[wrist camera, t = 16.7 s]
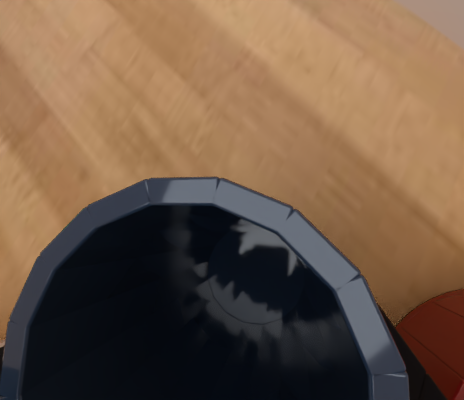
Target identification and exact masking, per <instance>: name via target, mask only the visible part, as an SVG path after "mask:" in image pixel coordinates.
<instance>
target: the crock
mask: <svg viewBox="0 0 464 400" xmlns="http://www.w3.org/2000/svg"><path fill="white" fill-rule="evenodd" d="M9 319H10V321H9V322H8V324H7V332H6V339H5V346H4V354H3V361H2V368H1V376H0V400H410V397H409V379H408V374H407V372H406V365H405V363H404V361H403V359H402V356H401V354H400V352H399V350H398V348H397V346H396V343H395V341H394V339H393V337H392V335H391V333H390V331H389V328H388V326H387V324H386V322H385V320H384V318H383V315H382V313H381V311H380V309H379V307H378V305H377V302H376V300H375V298H374V296H373V294H372V292H371V289H370V287H369V285H368V283H367V281H366V279H365V277H364V276H363V275H362V274H361V272H360V270H359V269H358V268H357V267H356V266H355V265H354V264H353V263H352V262H351V261H350V260H349V259H348V258H347V257H346V256H345V255H344V254H343V253H342V252H341V251H340V250H339V249H338V248H337V247H336V246H335V245H334V244H332V243H331V242H330V241H329V240H328V239H327V238H326V237H325V236H324V235H323V234H322V233H321V232H320V231H319V230H318V229H317V228H316V227H315V226H314V225H313V224H312V223H311V222H310V221H309V220H308V219H307V218H306V217H305V216H304V215H303V214H302V213H301V212H300V211H298V210H297V209H294V210H293V207H292V206H291V205H289V204H286V203H284V202H281V201H279V200H276V199H274V198H271V197H269V196H266V195H264V194H262V193H259V192H257V191H254V190H252V189H249V188H247V187H244V186H242V185H239V184H237V183H235V182H232V181H230V180H227V179H225V178H218V177H169V178H150V179H145V180H143V181H140V182H138V183H136V184H134V185H131V186H129V187H127V188H125V189H123V190H120V191H118V192H116V193H114V194H111V195H109V196H107V197H105V198H103V199H100V200H98V201H96V202H94V203H92V204H89V205H88V206H87V207H85V208H83V209H82V211H81V212H80V213H79V214H78V215H77V216H76V217H75V218H74V219H73V220H72V221H71V222H70V223H69V224H68V225H67V226H66V227H65V228H64V229H63V230H62V231H61V232H60V233H59V234H58V235H57V236H56V237H55V238H54V239H53V240H52V241H51V242H50V243H49V244H48V246H47V247H46V248H45V249H44V250H43V251H42V252H41V253H40V256H38V257H37V259H36V261H35V263H34V265H33V268H32V270H31V272H30V274H29V276H28V278H27V280H26V283H25V285H24V287H23V289H22V291H21V293H20V295H19V298H18V300H17V302H16V304H15V306H14V308H13V311H12V313H11V315H10V317H9Z"/></svg>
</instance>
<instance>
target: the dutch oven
mask: <svg viewBox="0 0 464 400" xmlns="http://www.w3.org/2000/svg"><path fill="white" fill-rule="evenodd" d="M396 330H397V331H398V332H399V334H400V335H401V336H402V338H403V339H404V341H405V342H406V343H407V345H408V346H409V347H410V349H411V350H412V352H413V353H414V354H415V356H416V357H417V358H418V360H419V361H420V363H421V364H422V365H423V367H424V368H425V370H426V373H428V374H429V375H430V376H431V378H432V379H433V380H434V382H435V383H436V385H437V386H438V387H439V389H440V390H441V391H442V393H443V394H444V395H445V397H446V398H447V399H448V400H464V289H461V290H456V291H452V292H448V293H445V294H442V295H440V296H437V297H435V298H432V299H430V300H428V301H427V302H425V303H423V304H421V305H419V306H418V307H417V308H415V309H414V310H413V311H411V312H410V313H409V314H408V315H407V316H406V317H405V318H404V319H403V320H402V321H401V322H400V323H399V324H398V325H397V326H396Z"/></svg>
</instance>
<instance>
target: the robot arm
mask: <svg viewBox="0 0 464 400" xmlns="http://www.w3.org/2000/svg"><path fill="white" fill-rule="evenodd" d="M377 305H378V303H377ZM378 307H379V309H380V311H381V313H382V315H383V318H384V320H385V322H386V324H387V326H388V328H389V331H390V333H391V335H392V337H393V339H394V341H395V343H396V346H397V348H398V350H399V352H400V354H401V356H402V359H403V361H404V363H405V365H406V372H407V374H408V379H409V397H410V400H448V399H447V398H446V397H445V395H444V394H443V393H442V391H441V390H440V389H439V387H438V386H437V385H436V383H435V382H434V380H433V379H432V378H431V376H430V375H429V374H428V373H426V370H425V368H424V367H423V365H422V364H421V363H420V361H419V360H418V358H417V357H416V356H415V354H414V353H413V352H412V350H411V349H410V347H409V346H408V345H407V343H406V342H405V341H404V339H403V338H402V336H401V335H400V334H399V332H398V331H397V330H396V328H395V327H394V325H393V324H392V323H391V321H390V320H389V319H388V317H387V316H386V314H385V313H384V312H383V310H382V309H381V307H380V306H379V305H378ZM4 346H5V345H4ZM4 346H3V347H1V348H0V376H1V368H2V361H3V354H4Z"/></svg>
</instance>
